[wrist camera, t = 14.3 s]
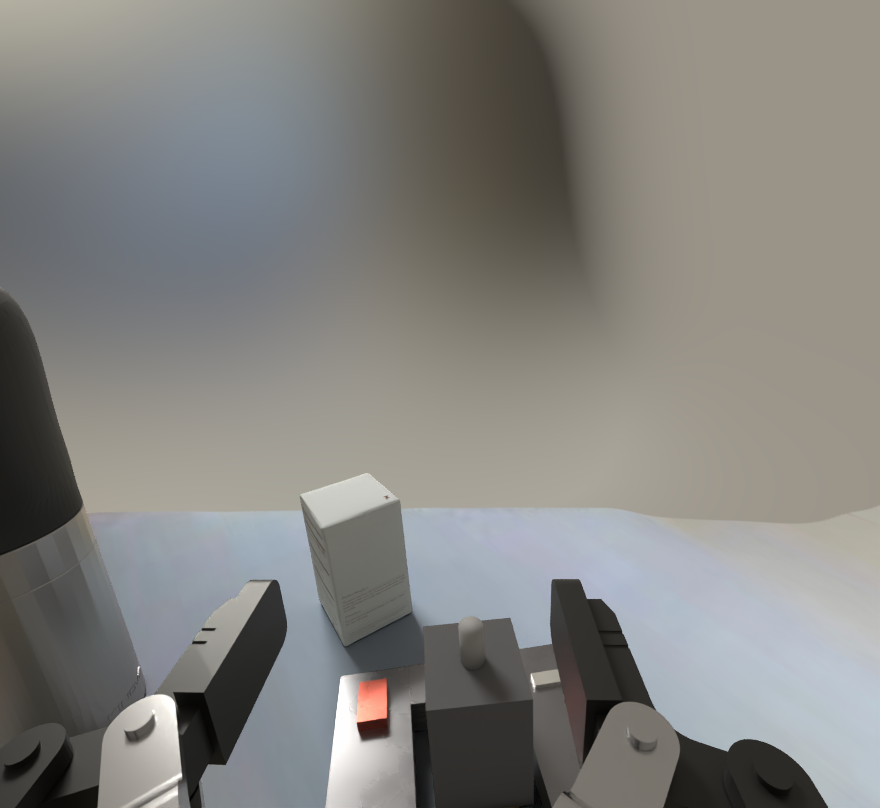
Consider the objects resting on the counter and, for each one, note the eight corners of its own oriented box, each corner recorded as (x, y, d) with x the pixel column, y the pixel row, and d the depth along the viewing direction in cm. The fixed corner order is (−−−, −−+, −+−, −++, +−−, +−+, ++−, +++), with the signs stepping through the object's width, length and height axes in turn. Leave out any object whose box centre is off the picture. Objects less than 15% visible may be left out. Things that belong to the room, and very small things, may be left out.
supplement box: (382, 573, 49) (369, 470, 45) (414, 613, 43) (402, 498, 39) (317, 601, 45) (297, 492, 41) (342, 650, 39) (321, 527, 35)
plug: (439, 841, 26) (422, 675, 22) (434, 742, 31) (420, 595, 27) (534, 830, 26) (532, 663, 22) (513, 733, 31) (509, 586, 27)
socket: (318, 974, 21) (307, 931, 20) (345, 701, 34) (339, 668, 33) (672, 899, 23) (678, 857, 22) (566, 666, 36) (567, 634, 35)
